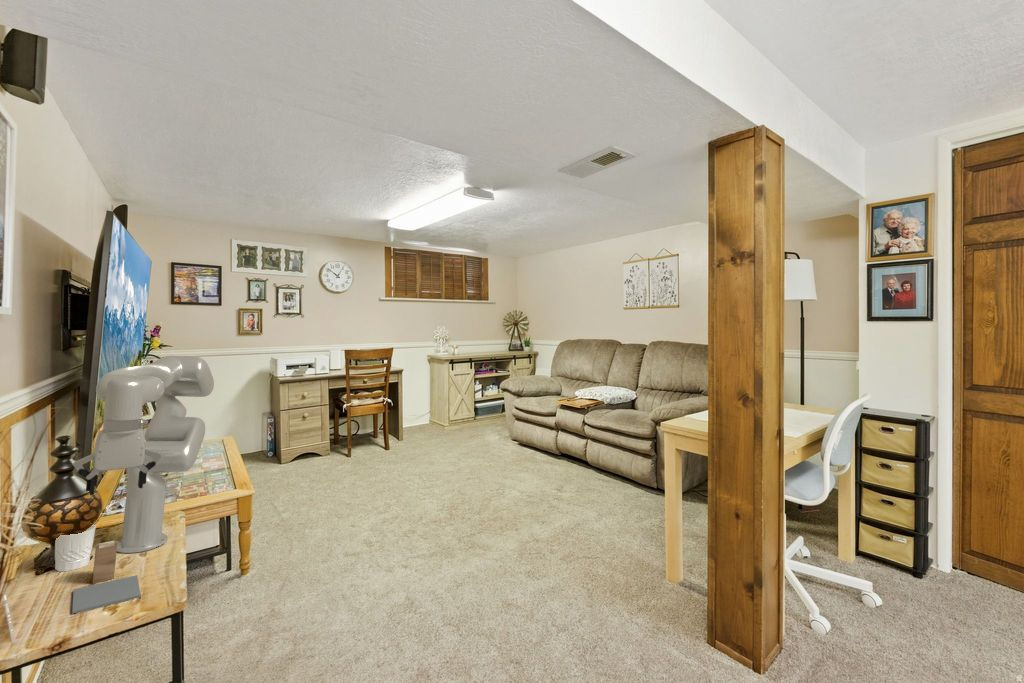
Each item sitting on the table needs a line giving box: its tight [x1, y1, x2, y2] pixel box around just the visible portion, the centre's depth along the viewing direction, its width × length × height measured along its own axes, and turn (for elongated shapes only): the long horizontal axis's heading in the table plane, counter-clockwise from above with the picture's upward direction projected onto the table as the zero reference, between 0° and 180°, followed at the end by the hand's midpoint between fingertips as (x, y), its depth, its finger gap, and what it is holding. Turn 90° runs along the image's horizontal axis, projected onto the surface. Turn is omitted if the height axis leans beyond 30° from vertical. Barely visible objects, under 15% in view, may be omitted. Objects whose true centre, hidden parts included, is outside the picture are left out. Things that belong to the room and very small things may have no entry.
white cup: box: [54, 523, 97, 572], centre depth 121 cm, size 8×8×10 cm
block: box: [92, 540, 118, 585], centre depth 116 cm, size 4×4×9 cm
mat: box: [71, 575, 142, 615], centre depth 109 cm, size 12×12×1 cm
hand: (116, 490), depth 116 cm, fingers open, 9 cm apart
